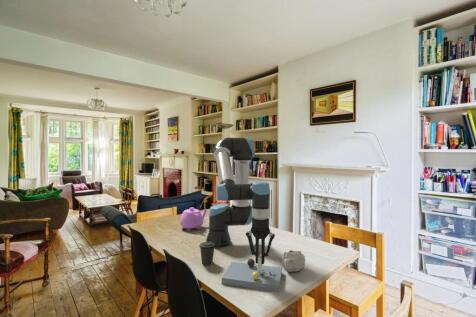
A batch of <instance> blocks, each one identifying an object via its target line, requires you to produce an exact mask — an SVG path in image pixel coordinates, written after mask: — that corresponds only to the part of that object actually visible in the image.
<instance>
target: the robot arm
mask: <svg viewBox="0 0 476 317" xmlns="http://www.w3.org/2000/svg"><path fill="white" fill-rule="evenodd" d="M255 147H256V146H255V142H254V140H253V139H252V138H249V137H231V136H230V137H224V138H222V139H221V140H219V141H218V142H217V143H216V144H215V146H214V148H213V157H214V159H215V160H216V168H217V176H218V183H219V184H217V185H216V187H215V188H216V189H215V194H216V195H215V196H216V200H217V201H222V202H223V201H232V202H231V206H229V204H227V203H218V204H214V205H212V206H210V208H209V209H208V210H209V211H208V212H209V213H208V217H209V218H208V221H209V222H208V233H207V236H206V239H205V242H213V243H215V247H214V248H216V249H217V248H225V247H228V246H230V245H231V243H232V241H231V240H232V239H231V235H230V232H229V227H233V226H235V227H237V226H248V225H251V228H250V230H247V231H246V233H245V236H246V237H247V239H248V245H249V249H250V253H251V255H252V256H255V260H254V261H255V264H256V265H258V272H261V271H262V265H264V264H265V262H266V261H265V258H266V257H269V254H270V250H271V247H272V244H273V240H274V238H275V237H276V234H275V233H273V232H272V231H271V229H270V192H271V189H270V183H269V182H267V181H253V182H251V183H250V182H249V181H250V180H249V179H250V175H249V174H250V162H252V160H253V158H254V157H255V155H256V148H255ZM231 158H232V160H233V162H234V173H233V168H232V167H233V166H232V162H231ZM249 201H251V202H249ZM252 235H253V236H252ZM268 236H269V238H268V239H269V240H268V243H267V248H266V238H267V237H268ZM253 237H254V240H255V245H254V240H253ZM260 240H261V241H260ZM260 243H261V249H260ZM260 250H261V252H260Z"/></svg>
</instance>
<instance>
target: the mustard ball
mask: <svg viewBox="0 0 476 317" xmlns="http://www.w3.org/2000/svg"><path fill="white" fill-rule="evenodd" d="M252 278H253V279H254V280H257V279H258V278H259V274H258V272H253V274H252Z"/></svg>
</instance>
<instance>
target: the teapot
mask: <svg viewBox="0 0 476 317" xmlns="http://www.w3.org/2000/svg"><path fill="white" fill-rule="evenodd" d="M207 210H208V209H203V210H202V212H201V211H200V209H198V208H197V209H196V208H195V207H189V209H188V208H187V209H185V210H183V212H182V214H181V216H180V222H179V223H180V225H181V227H182V228H183V229H186V231H187V232H190V231H192V229H196V230H201V227H202V226H203V224H204V220H205V217H206V214H207Z"/></svg>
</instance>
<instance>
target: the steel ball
mask: <svg viewBox="0 0 476 317" xmlns="http://www.w3.org/2000/svg"><path fill="white" fill-rule="evenodd" d="M263 276H265V277H270V276H271V274H270V273H269V272H264V273H263Z"/></svg>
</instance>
